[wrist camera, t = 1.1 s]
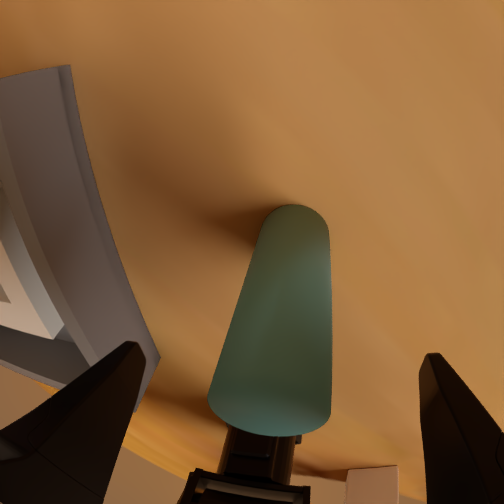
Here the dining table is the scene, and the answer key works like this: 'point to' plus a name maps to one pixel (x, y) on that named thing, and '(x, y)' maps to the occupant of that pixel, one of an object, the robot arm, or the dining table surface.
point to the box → (57, 241)
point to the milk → (372, 486)
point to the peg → (280, 332)
